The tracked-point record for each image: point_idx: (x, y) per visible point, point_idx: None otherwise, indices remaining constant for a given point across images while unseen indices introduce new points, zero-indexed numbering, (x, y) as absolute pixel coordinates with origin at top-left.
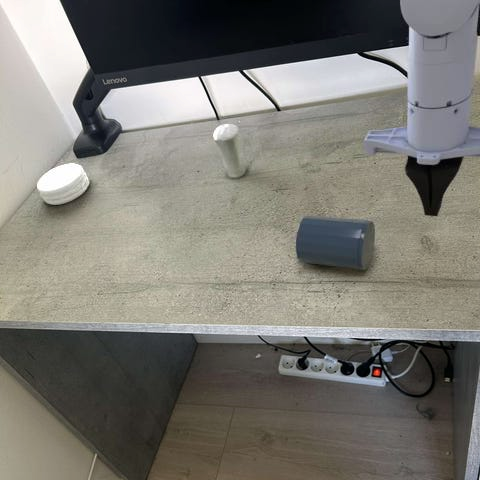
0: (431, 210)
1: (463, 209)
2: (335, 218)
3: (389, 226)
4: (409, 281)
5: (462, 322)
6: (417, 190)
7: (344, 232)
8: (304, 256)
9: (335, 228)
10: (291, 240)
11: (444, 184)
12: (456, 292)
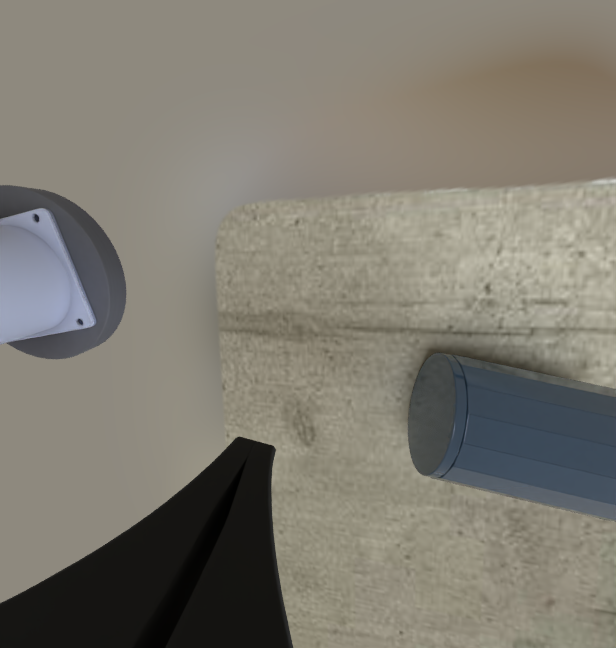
0: (245, 454)
1: None
2: (537, 498)
3: (373, 477)
4: (333, 330)
5: (232, 220)
6: (272, 556)
7: (516, 440)
8: (606, 389)
9: (546, 458)
10: None
11: (92, 573)
12: (247, 300)
